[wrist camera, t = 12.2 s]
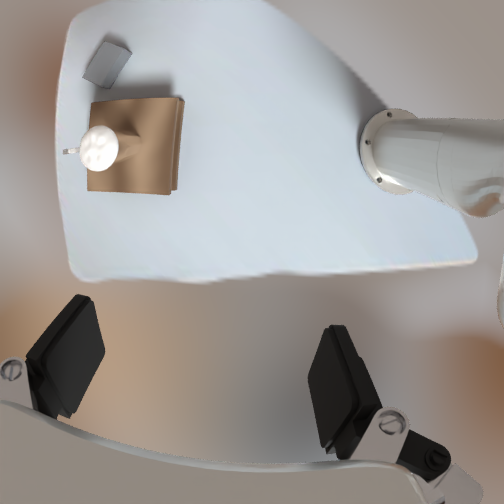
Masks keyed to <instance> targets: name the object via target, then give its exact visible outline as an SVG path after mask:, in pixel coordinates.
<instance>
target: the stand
mask: <svg viewBox="0 0 504 504" xmlns="http://www.w3.org/2000/svg"><path fill="white" fill-rule="evenodd" d="M184 104H185V102H184V101H179V98H140V99H124V100H112V101H103V102H94V103H91V111H90V122H89V129H91V128H92V127H95V126H106V127H110V128H115V129H120V130H125V131H131V132H135V133H136V134H137V135H138V136H139V137H140V139H141V144H142V145H141V148H140V151H139V153H137V154H136V155H135V156H133V157H132V158H129V159H127V160H124V161H122V162H120V163H117V164H115V165H113V166H111V167H109V168H107V169H105V170H103V171H92V170H90V169H88V168H87V190H88V191H101V192H125V193H143V194H159V195H170V194H171V190H174V191H175V190H177V179H178V165H179V152H180V141H181V130H182V121H183V112H184Z"/></svg>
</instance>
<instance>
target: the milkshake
mask: <svg viewBox="0 0 504 504" xmlns="http://www.w3.org/2000/svg"><path fill="white" fill-rule="evenodd" d="M141 145H142V144H141V139H140V137H139V136H138V135H137V134H136V133H135V132H131V131H125V130H120V129H115V128H110V127H106V126H95V127H92V128H91V129H89V130H88V131H87V132H86V133H85V134H84V136H83V137H82V140H81V143H80V148H72V149H65V150H63V154H70V153H77V152H80V158H81V161H82V163H83V164H84V165H85V166H86V167H87V168H88V169H90V170H92V171H103V170H105V169H107V168H109V167H111V166H113V165H115V164H117V163H120V162H122V161H124V160H127V159H129V158H132V157H133V156H135V155H136V154H137V153H139V151H140V148H141Z"/></svg>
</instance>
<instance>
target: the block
mask: <svg viewBox="0 0 504 504" xmlns="http://www.w3.org/2000/svg"><path fill="white" fill-rule="evenodd" d="M131 55H132V53H130V52H129V51H127V50H126V49H124V48H121V47H119V46H116V45H114V44H111V43H109V42H106V41H104V43H103V44H102V46H101V47H100V49H99V50H98V52H97V53H96V55H95V56H94V58H93V60H92V61H91V63H90V65H89V66H88V68H87V70H86V71H85V73H84V75H83V77H82V78H84V79H86V80H88V81H90V82H92V83H94V84H96V85H98V86H101V87H104V88H108V89H110V88H111V86H112V84H113V83H114V81H115V79H116V78H117V76H118V74H119V73H120V71H121V70H122V68H123V67H124V65H125V64H126V62H127V61H128V59H129V58H130V56H131Z"/></svg>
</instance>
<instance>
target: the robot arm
mask: <svg viewBox="0 0 504 504" xmlns="http://www.w3.org/2000/svg"><path fill="white" fill-rule="evenodd" d="M387 114H388V116H387ZM365 141H367V143H365ZM360 155H361V161H362V164H363V167H364V169H365V171H366V173H367V175H368V177H369V178H370V179H371V181H372V182H373V183H374V184H375V185H376V186H378V187H379V188H381V189H382V190H384V191H386V192H389V193H392V194H396V195H404V194H408V193H411V192H413V191H415V192H417V193H419V194H422V195H424V196H426V197H429V198H431V199H433V200H436V201H438V202H440V203H442V204H444V205H446V206H449V207H451V208H453V209H455V210H457V211H459V212H461V213H463V214H465V215H468V216H471V217H476V218H484V217H488V216H491V215H494V214H496V213H498V212H499V211H501V210H502V209H504V119H503V120H493V119H491V120H490V119H460V118H417V117H416V116H415V115H413V114H412V113H410V112H408V111H405V110H402V109H387V110H384V111H381V112H379V113H377V114H376V115H374V116H373V117H372V118H371V119H370V120H369V121H368V123H367V124H366V126H365V127H364V130H363V133H362V136H361V141H360ZM377 178H378V180H377ZM497 312H498V317H499V320H500V323H501V325H502V327H503V328H504V256H503V263H502V270H501V276H500V282H499V289H498V296H497ZM104 355H105V347H104V343H103V340H102V336H101V332H100V328H99V324H98V319H97V315H96V311H95V306H94V302H93V301H91V299H90V297H88V296H84V295H79V294H77V295H75V296H74V297H73V299H72V300H71V301H70V302H69V303H68V304H67V305H66V306H65V308H64V309H63V310H62V311H61V312H60V313H59V315H58V316H57V317H56V318H55V319H54V320H53V322H52V323H51V324H50V325H49V327H48V328H47V329H46V330H45V331H44V333H43V334H42V335H41V336H40V338H39V339H38V340H37V342H36V343H35V344H34V346H33V347H32V348H31V349H30V351H29V352H28V353H27V355H26V358H27V359H26V361H25V362H24V360H23V359H21V358H19V357H10V358H7V359H6V360H4V361H3V362H2V363H1V364H0V504H479V503H480V502H481V500H482V497H483V489H482V487H481V485H480V484H479V483H478V482H476V481H475V480H474V479H473V478H472V477H471V476H470V475H469V474H467V473H466V472H465V471H464V470H463V469H461V468H460V467H459V466H458V465H457V464H456V463H455V464H453V465H452V464H451V456H450V453H449V451H448V450H447V449H446V448H445V447H444V446H442V445H440V444H438V443H436V442H434V441H432V440H430V439H428V438H426V437H424V436H422V435H420V434H418V433H416V432H414V431H412V430H410V429H409V426H410V424H409V419H408V418H407V416H406V415H405V414H404V413H403V412H402V411H401V410H399V409H397V408H394V407H385V408H383V407H382V404H381V402H380V399H379V397H378V394H377V392H376V389H375V387H374V385H373V382H372V380H371V378H370V375H369V373H368V370H367V369H366V366H365V364H364V361H363V360H362V358H361V357H359V356H358V354H357V352H356V349H355V347H354V344H353V342H352V340H351V338H350V336H349V333H348V331H347V329H346V327H345V326H344V325H330V326H329V328H325V330H324V332H323V335H322V338H321V341H320V344H319V346H318V349H317V352H316V355H315V357H314V360H313V363H312V365H311V368H310V371H309V374H308V384H309V388H310V393H311V398H312V403H313V408H314V413H315V418H316V423H317V428H318V433H319V438H320V443H321V447H322V448H325V449H326V454H332V453H336V455H337V458H338V460H337V461H324V462H310V463H282V464H258V463H235V462H222V461H212V460H202V459H195V458H188V457H182V456H176V455H170V454H165V453H160V452H156V451H151V450H146V449H142V448H138V447H134V446H131V445H127V444H123V443H120V442H116V441H113V440H110V439H106V438H103V437H100V436H97V435H94V434H91V433H88V432H86V431H83V430H81V429H78V428H75V427H73V426H70V425H68V424H65V423H63V422H60V421H58V420H57V416H58V414H60V415H62V416H64V417H66V418H69V419H70V417H71V415H72V413H75V412H76V411H77V409H78V407H79V405H80V402H81V400H82V398H83V396H84V394H85V392H86V390H87V388H88V386H89V384H90V382H91V380H92V378H93V376H94V374H95V372H96V370H97V369H98V367H99V365H100V363H101V361H102V359H103V357H104Z"/></svg>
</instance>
